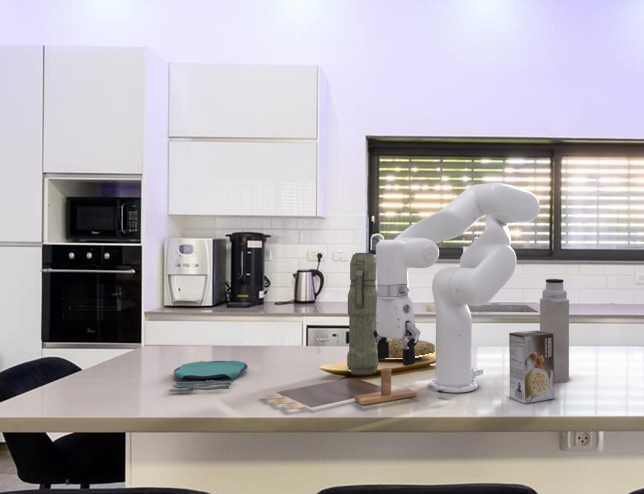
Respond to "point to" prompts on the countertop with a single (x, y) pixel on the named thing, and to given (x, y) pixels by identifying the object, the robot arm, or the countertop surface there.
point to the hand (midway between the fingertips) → (395, 361)
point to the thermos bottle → (556, 325)
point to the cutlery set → (207, 374)
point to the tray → (330, 391)
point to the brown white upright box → (531, 366)
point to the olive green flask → (362, 314)
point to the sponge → (397, 348)
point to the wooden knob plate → (385, 391)
